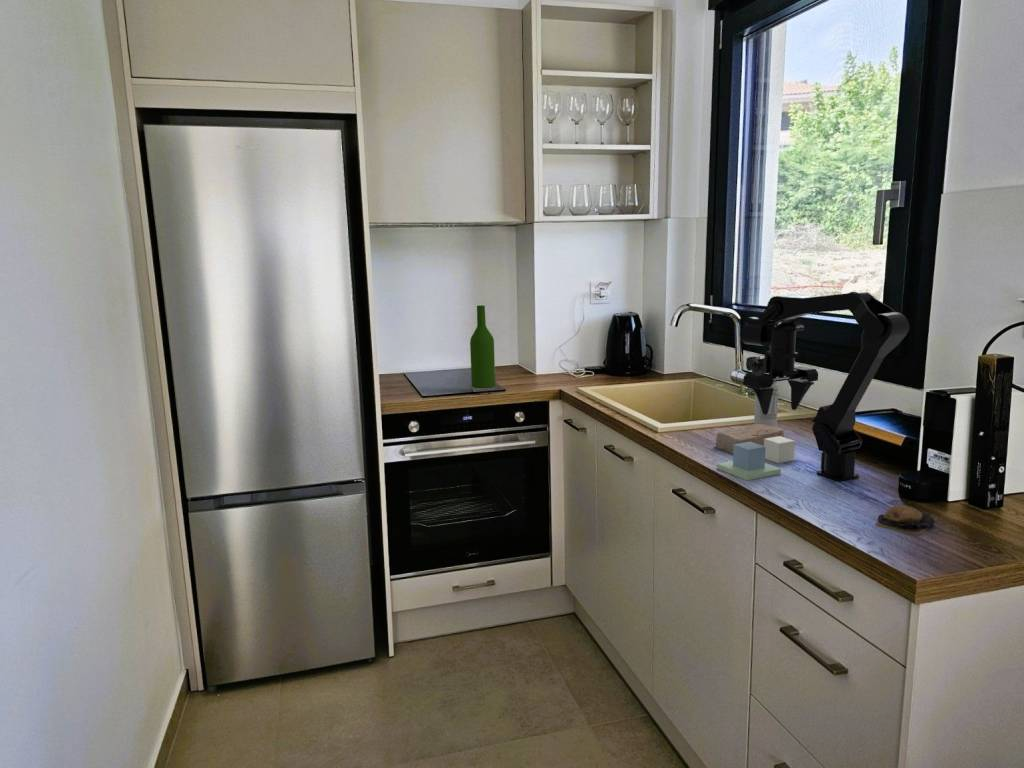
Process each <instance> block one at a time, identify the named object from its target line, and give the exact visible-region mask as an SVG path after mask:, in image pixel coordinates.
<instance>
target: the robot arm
mask: <svg viewBox="0 0 1024 768" xmlns="http://www.w3.org/2000/svg"><path fill="white" fill-rule="evenodd" d="M838 311H839V312H840V311H850V313H852V316H853V318H854V320H855V321H856V324H858V325H859V326H860V327H861V328H862V329H863V331H862V334H861V350H860V352H859V353H858V355H857V357H856V359H855V360H854V363H853V365H852V367H851V368H850V370H849V372H848V374H847V376H846V377H845V380H844V382H843V384H842V386H841V388H840V389H839V391H838V394H837V395H836V397H835V399H834V401H833V402H832V404H827V405H821V406H820V407H819V408H818V410H817V411H816V415H815V417H814V418H813V419H812V420H811V422H812V423H813V424H812V427H811V431H812V432H813V435H814V437H815V441H816V444H817V445H816V446H817V449H818V451H821V455H820V456H821V458H820V459H821V460H820V470H817V471H816V474H817V475H819V476H822V477H826V478H827V479H831V480H834V481H837V482H841V481H846V480H851V479H856V478H859V477H860V474H858V473H855V468H856V467H855V466H856V451H854V450H856V449H860V448H861V446H862V444H863V439H862V438H861V436H860V435H859V434H858V432H857V431H856V429H854V427H855V424H856V410H857V408H858V406H859V404H860V402H861V401H862V399H863V397H864V395H865V393H866V391H867V390H868V389H869V386H870V384H871V382H872V380H873V379H874V377H875V376H876V373H877V372H878V369H879V368H880V366H881V364H882V362H883V361H884V359H885V358H886V356H887V355H888V354H890V352H891V351H893V350H894V349H896V347H897V346H898V345H900V343H901V342H902V341H903V339H904V338H905V337H906V336H907V334H908V333H909V332H910V324H909V320H908V318H907V317H906V315H904V314H902V313H901V312H898V311H896V310H894V309H893V308H892V307H890V306H889V305H888V304H885V303H883V302H882V301H880V300H879V299H877V298H876V297H874V296H873V295H872V294H871V293H869V292H868V291H866V290H858V291H851V292H847V293H839V294H830V295H819V296H806V295H799V294H798V295H797V294H787V295H775V296H772V297H770V298H769V300H768V302H767V305H766V307H765V309H764V310H763V312H762V313H761V315H760V316H759V317H756V316H750V317H746V322H745V323H744V324H743V325H742V328H741V331H740V340H741V341H742V343H743V344H745V345H751V346H752V345H753V346H760V347H761V346H762V347H768V346H769V351H765V353H764V357H762V358H758V357H757V356H756V355H755V356H749V357H747V358H746V361H745V362H746V363H745V366H746V370H747V371H749V372H746V373H745V374H744V375H743V383H742V384H743V386H747V388H748V389H751V390H752V391H753V392H754V394H755V393H756V395H757V398H758V400H759V403H760V406H761V409H762V412H763V414H765V415H766V414H767V413H768V410H769V407H770V403H771V398H772V394H773V390H774V388H771V386H772V384H773V382H776V381H777V382H783V381H787V382H788V385H789V386H790V407H791V408H790V409H791V411H792V410H793V411H797V409H798V408H799V406H800V404H801V402H802V400H803V399H804V396H806V394H807V392H808V391H809V389H810V388H811V386H812V385H815V382H816V381H818V380H819V372H818V370H817V369H816V368H813V367H808V366H796V367H795V362H796V361H795V360H796V358H799V357H800V353H799V352H796V340H797V339H796V337H797V336H796V335H797V332H798V331H799V332H800V331H804V330H805V325H803V324H801V322H800V321H799V320H798V319H797V318H800V317H805V316H807V315H810V314H814V313H827V312H838ZM792 319H793V320H792ZM788 320H791V321H790V322H786V321H788ZM776 323H777V324H776ZM750 371H751V372H750ZM818 382H819V381H818Z"/></svg>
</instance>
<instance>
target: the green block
mask: <svg viewBox="0 0 1024 768" xmlns="http://www.w3.org/2000/svg"><path fill="white" fill-rule="evenodd" d="M716 464H717V465H716V466H717V467H716V469H718V470H720V471H722V472H724V473H727V474H730V475H731V476H734V477H736V478H740V479H742V480H744V481H749V480H750V481H751V480H756V479H760V478H767V477H771V476H776V475H780V474H781V473H782V468H780V467H777V466H774V465H772V464H769V463H767V462H765V468H760V469H754V470H749V471H747V470H745V469H742V468H739V467H737V466H734V465H733V460H731V461H725V462H718V463H716Z"/></svg>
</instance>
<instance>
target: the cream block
mask: <svg viewBox="0 0 1024 768" xmlns="http://www.w3.org/2000/svg"><path fill="white" fill-rule="evenodd" d="M764 446H765V447H766V449H765V460H768V461H771V462H774V463H777V464H780V463H785V462H786V463H787V462H792V461H795V447H796V441H795V440H794V439H790V438H787V437H785V436H784V437H781V436H778V437H772V438H766V439H764Z"/></svg>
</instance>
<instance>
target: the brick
mask: <svg viewBox="0 0 1024 768" xmlns="http://www.w3.org/2000/svg"><path fill="white" fill-rule="evenodd" d="M784 433H785V430H784V429H782V428H779V427H777V426H776V427H772V426H767V425H763V424H756V425H754V424H752V425H748V426H746V427H741V428H732V429H727V430H723V431H718V432H717V434H716V438H715V447H716V449H717V448H718V449H720V450H724V451H726V452H728V453H732V454H733V446H734V444H739V443H745V442H753V443H756V444H759V445H762V446H764V439H766V438H772V437H778V436H781V437H784V438H785V435H784Z"/></svg>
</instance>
